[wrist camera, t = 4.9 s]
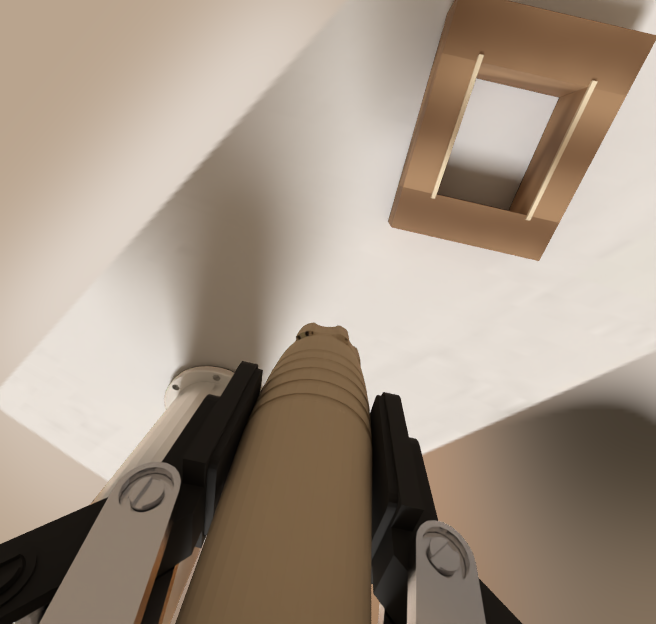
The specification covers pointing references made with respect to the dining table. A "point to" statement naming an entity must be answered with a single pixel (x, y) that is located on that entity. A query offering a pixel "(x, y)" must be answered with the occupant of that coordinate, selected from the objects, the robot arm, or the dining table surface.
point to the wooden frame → (530, 74)
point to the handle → (295, 499)
